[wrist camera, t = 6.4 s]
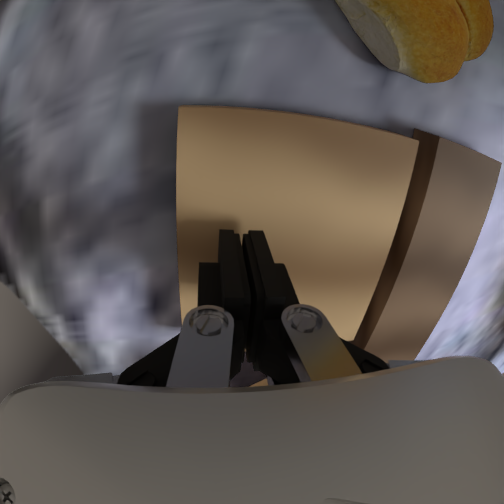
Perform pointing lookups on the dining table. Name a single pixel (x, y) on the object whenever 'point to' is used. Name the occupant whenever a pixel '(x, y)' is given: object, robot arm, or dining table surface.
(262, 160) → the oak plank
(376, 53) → the bread roll
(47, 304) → the dining table surface
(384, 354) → the walnut floor strip
